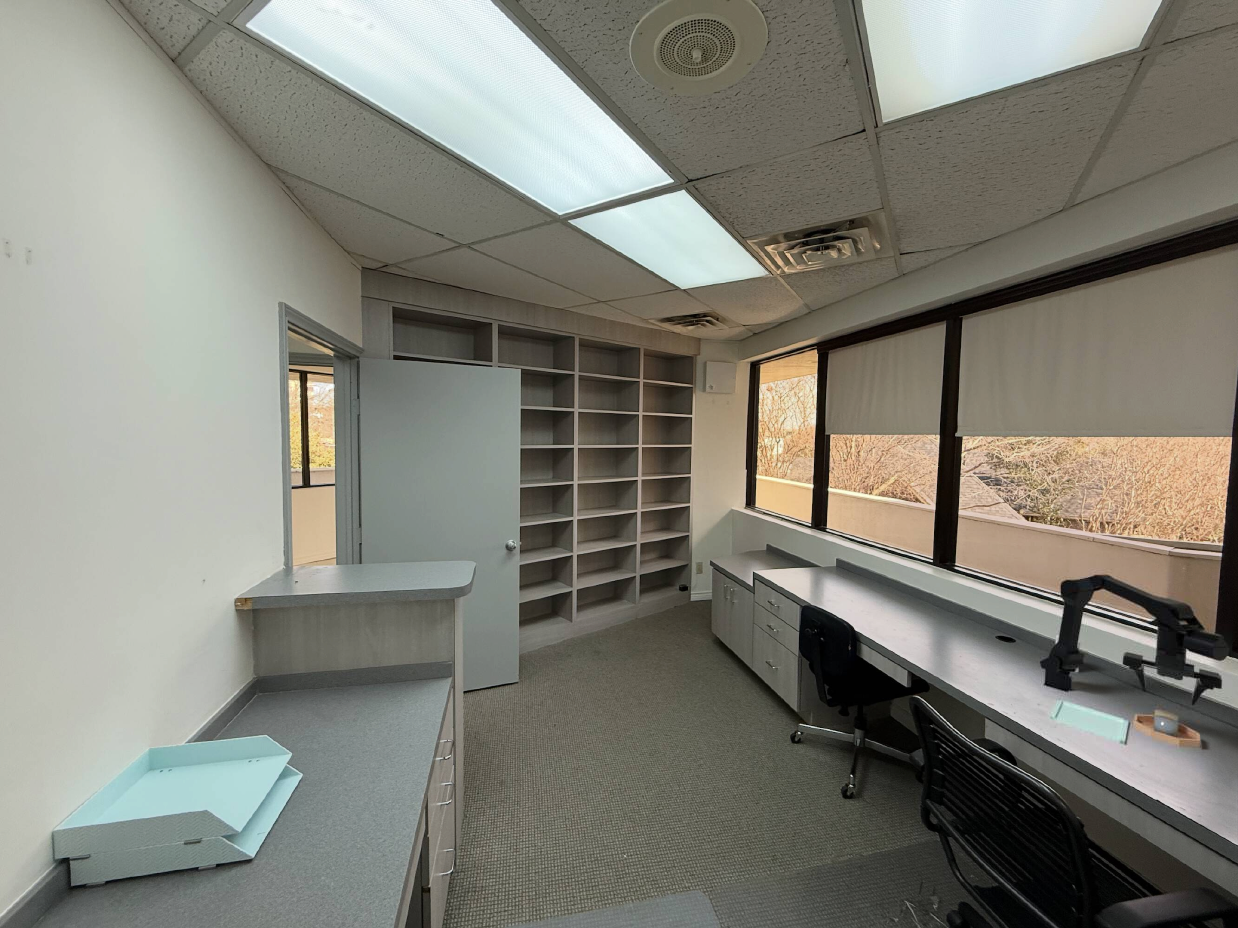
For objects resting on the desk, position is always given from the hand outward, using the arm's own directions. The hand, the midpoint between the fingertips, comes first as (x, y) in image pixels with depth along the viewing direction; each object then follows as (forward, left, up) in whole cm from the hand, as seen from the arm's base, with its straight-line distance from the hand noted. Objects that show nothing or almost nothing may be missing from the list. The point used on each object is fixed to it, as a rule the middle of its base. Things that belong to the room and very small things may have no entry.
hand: (1168, 698), depth 140 cm
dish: (0, +3, -12) cm, 12 cm away
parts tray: (-16, -6, -12) cm, 21 cm away
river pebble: (0, +5, -11) cm, 12 cm away
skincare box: (-26, +38, -12) cm, 47 cm away
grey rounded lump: (0, 0, -11) cm, 11 cm away
